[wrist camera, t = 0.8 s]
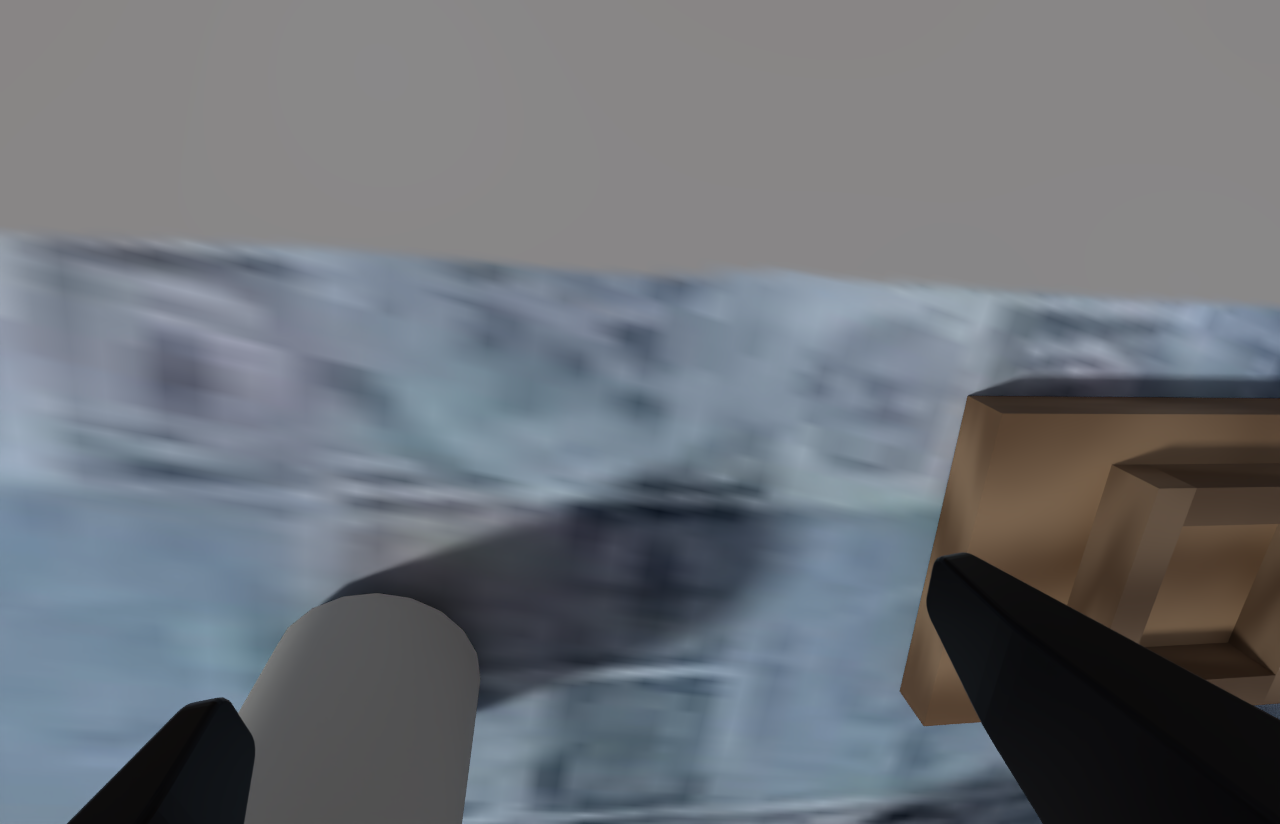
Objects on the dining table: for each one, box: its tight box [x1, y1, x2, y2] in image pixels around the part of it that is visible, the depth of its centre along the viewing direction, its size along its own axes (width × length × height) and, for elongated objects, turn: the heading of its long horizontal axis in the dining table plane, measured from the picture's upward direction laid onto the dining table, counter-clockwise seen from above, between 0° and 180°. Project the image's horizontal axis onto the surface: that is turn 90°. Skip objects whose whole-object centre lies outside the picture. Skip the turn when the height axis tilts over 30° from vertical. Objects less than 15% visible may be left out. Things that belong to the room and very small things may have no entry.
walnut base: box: [900, 396, 1280, 726], centre depth 27 cm, size 14×20×4 cm
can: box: [238, 593, 481, 824], centre depth 20 cm, size 8×8×12 cm
